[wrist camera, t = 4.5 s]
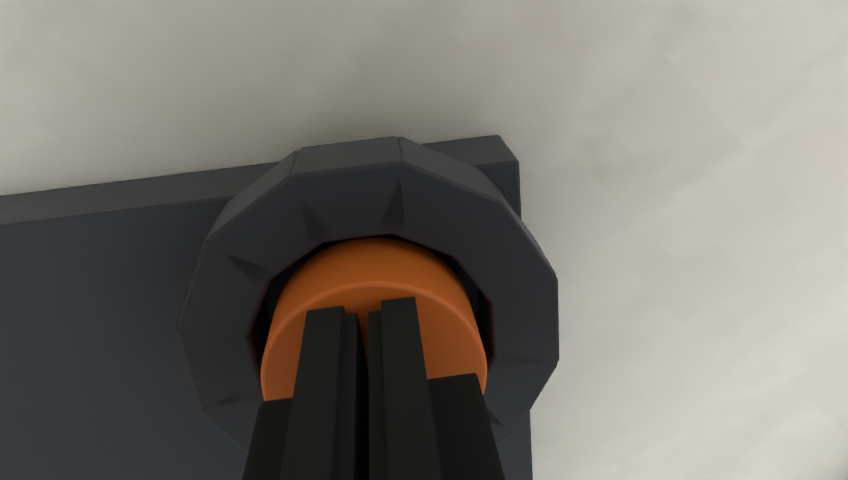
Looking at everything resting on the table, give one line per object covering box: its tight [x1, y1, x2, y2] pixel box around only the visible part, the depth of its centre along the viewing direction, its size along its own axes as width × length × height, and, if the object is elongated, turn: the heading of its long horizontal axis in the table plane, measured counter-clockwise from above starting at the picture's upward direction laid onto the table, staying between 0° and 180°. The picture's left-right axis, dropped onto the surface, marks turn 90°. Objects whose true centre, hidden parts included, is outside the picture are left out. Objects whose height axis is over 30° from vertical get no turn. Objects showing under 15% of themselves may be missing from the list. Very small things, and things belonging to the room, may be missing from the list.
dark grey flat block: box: [0, 135, 559, 480], centre depth 14 cm, size 14×13×4 cm
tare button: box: [261, 237, 487, 401], centre depth 11 cm, size 4×4×2 cm
